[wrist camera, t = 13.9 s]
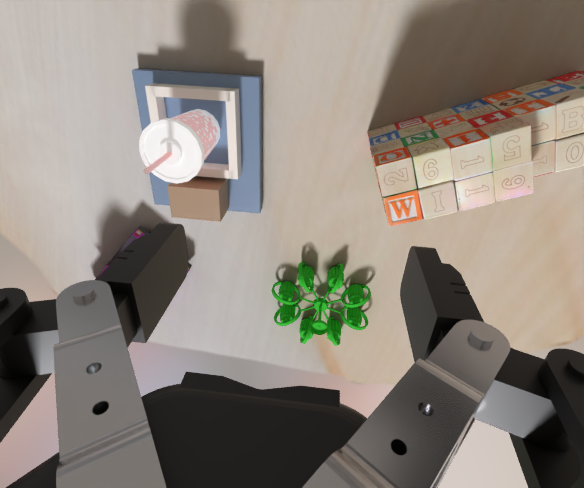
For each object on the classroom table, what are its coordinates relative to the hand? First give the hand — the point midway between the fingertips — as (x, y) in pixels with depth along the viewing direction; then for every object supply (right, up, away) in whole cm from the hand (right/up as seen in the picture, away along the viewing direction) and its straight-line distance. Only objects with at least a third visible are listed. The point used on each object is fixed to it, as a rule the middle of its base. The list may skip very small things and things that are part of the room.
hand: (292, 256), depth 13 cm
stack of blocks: (+19, +13, +28) cm, 36 cm away
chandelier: (+4, -7, +42) cm, 43 cm away
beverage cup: (-11, +14, +29) cm, 34 cm away
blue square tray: (-11, +13, +31) cm, 36 cm away
